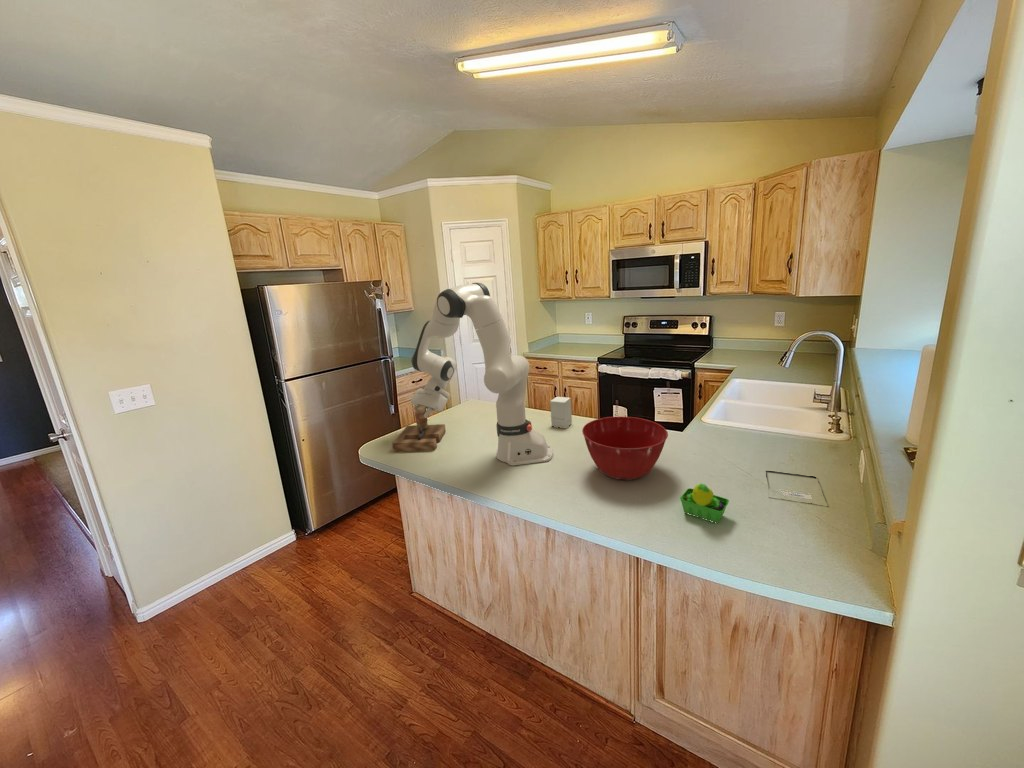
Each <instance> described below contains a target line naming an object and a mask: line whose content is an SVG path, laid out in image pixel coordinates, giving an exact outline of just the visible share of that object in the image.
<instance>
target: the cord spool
mask: <svg viewBox="0 0 1024 768" xmlns="http://www.w3.org/2000/svg"><path fill="white" fill-rule="evenodd" d="M414 411H415V414H414V419H415V424H416V425H417V429H418V430H419V428H422V430H423V429H427V428H428V425H429V423H428V417H427V418H424V417H422V415H423V413H425V412H426V411H427V408H425V406H422V405H419V406H416V405H414Z"/></svg>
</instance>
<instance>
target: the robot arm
mask: <svg viewBox="0 0 1024 768" xmlns="http://www.w3.org/2000/svg"><path fill="white" fill-rule="evenodd" d="M464 316H467V317H469V318H470V319H471V322H472V325H473V327H474V330H475V334H476V336H477V338H478V342H479V344H480V346H481V349H482V354H483V359H484V366H485V368H484V371H485V372H484V376H483V383H484V386H485V387H486V389H487V390H488V391H489V392H491V393H493V394H496V395H497V394H498V396H497V399H496V402H495V408H496V409H495V410H496V421H497V422H496V425H495V426H496V435H497V438H498V439H497V449H496V455H495V456H496V458H497V460H499V461H500V462H504V463H506V464H508V465H509V466H521V465H527V464H537V463H545V462H549V461H550V460H552V458H554V451H553V447H552V446H551V445H549V444H548V443H547V441H546V438H545V436H544V435H543V434H541V433H540V432H538V431H536V430H535V429H533V426H532V422H531V419H529V420H528V419H527V417H526V391H527V386H528V376H529V373H530V370H531V369H530V368H531V367H530V363H529V361H528V359H527V358H526V357H524V356H523V355H519V354H516V355H515V354H514V355H511V337H510V334H509V331H508V329H507V326H506V323H505V321H504V319H503V316H502V314H501V312H500V308H499V307H498V305H497V304H496V302H495V300H494V299H493V298H492V297H491V293H490V291H489V289H488V287H487V286H486V285H485V284H484V283H482V282H472V283H467V284H459V285H456V286H453V287H450V288H446V289H445V290H442V291H441V292H440V293H439V294H438V295H437V297H436V300H435V303H434V305H433V311H432V317H431V320H428V321H426V322H425V324H424V325H423V326H422V329H421V331H420V334H419V337H418V341H417V344H416V347H415V351H414V353H413V355H412V357H411V360H410V361H411V365H412V368H413V369H414V370H415V371H418V372H421V373H424V374H426V375H429V376H430V378H429V379H428V381H427V382H426V384H425V386H421V387H420V388H417V390H416V392H414V393H413V395H412V397H411V398H410V403H411V404H412V405H414V406H419V405H422V406H425V409H426V412H425V413H423V415H422V417H424V418H427V419H428V416H429V415H431V414H432V413H433V411H434V412H435V411H436V412H438V413H440V412H442V411H443V410H444V409H445V407H446V405H447V403H448V399H450V397H451V394H450V393H449V392H448V391H446V390H447V386H448V384H449V383H450V382H451V380H452V378H453V377H454V374H455V372H456V370H457V366H458V364H457V362H456V360H455V359H454V358H452V357H450V356H440V355H438V354H436V353H433V351H430V350H429V345H430V343H431V339H434V338H436V339H437V338H438V339H446V338H449V337H451V336H454V334H456V333H457V332H458V329H459V326H460V320H461V319H462V318H463V317H464ZM413 415H415V410H414V412H413Z"/></svg>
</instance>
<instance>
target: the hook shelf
mask: <svg viewBox="0 0 1024 768" xmlns="http://www.w3.org/2000/svg"><path fill="white" fill-rule="evenodd" d="M445 432H446V424H445V423H442V424H441V423H439V424H428V428H427V429H423V430H422V428H419V430H418V429H417V424H416V425H406V426H405V428H404V429H403V430H402V431H401V432H400V434H398V435H397V437H396V438H395V439H394V441H393V442H392V443H391V444H392V445H391V446H392V451H393V452H394V453H399V452H398V451H408V452H425V451H424V450H435V449H436V450H437V448H438V445H437V443H440V442H442V439H443V438H444V436H445V435H446V433H445ZM442 437H443V438H442ZM421 450H422V451H421ZM436 450H435V451H436Z"/></svg>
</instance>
